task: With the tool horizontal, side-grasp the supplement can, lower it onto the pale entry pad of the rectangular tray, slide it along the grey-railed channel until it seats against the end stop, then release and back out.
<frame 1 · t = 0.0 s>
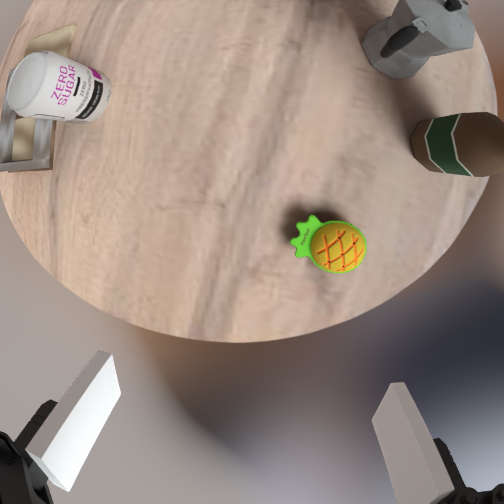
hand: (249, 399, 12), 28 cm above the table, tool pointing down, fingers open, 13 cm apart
supplement can: (92, 98, 33), on the table
beer bottle: (429, 145, 33), on the table
coffeepot: (385, 55, 30), on the table
rectangular tray: (37, 98, 33), on the table
pineapple toy: (325, 239, 38), on the table
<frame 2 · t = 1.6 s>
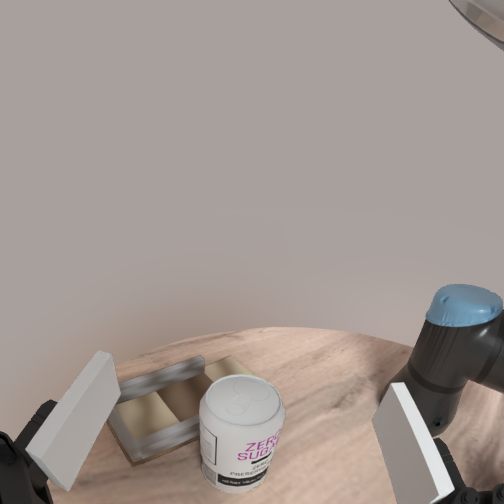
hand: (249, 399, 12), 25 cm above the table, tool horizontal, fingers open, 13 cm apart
supplement can: (234, 470, 28), on the table
rectangular tray: (189, 406, 39), on the table
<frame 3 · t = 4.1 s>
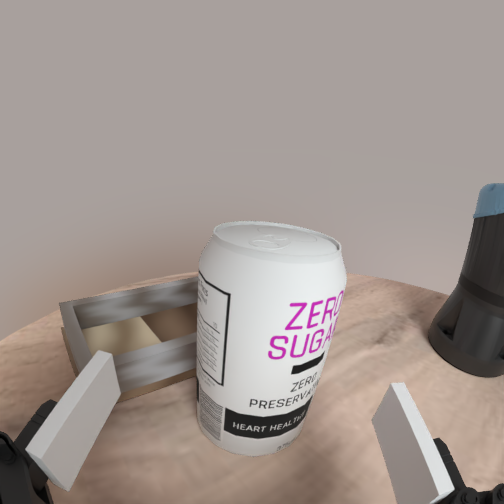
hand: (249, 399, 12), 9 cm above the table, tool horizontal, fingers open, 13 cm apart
supplement can: (249, 422, 20), on the table
rectangular tray: (184, 337, 30), on the table
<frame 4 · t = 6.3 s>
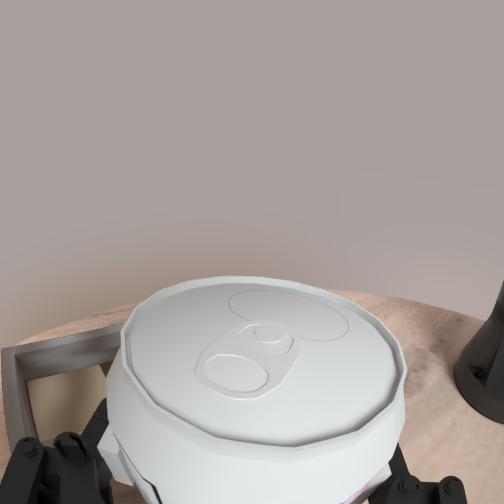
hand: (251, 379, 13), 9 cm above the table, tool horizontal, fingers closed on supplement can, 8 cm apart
rectangular tray: (153, 394, 21), on the table
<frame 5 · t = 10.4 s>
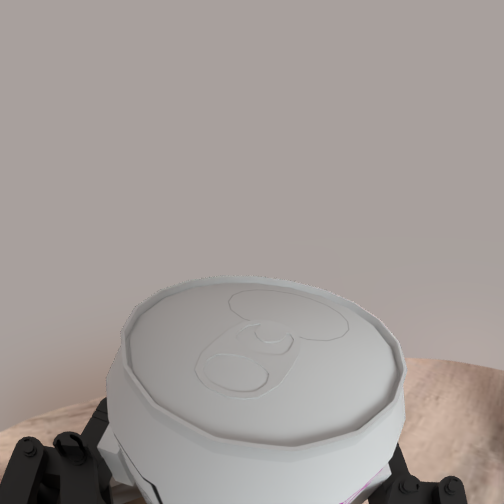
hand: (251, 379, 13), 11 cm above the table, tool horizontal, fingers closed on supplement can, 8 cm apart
when the fingers open (11 cm above the table, at t = 14.5 s): supplement can stays where it is, resting on rectangular tray.
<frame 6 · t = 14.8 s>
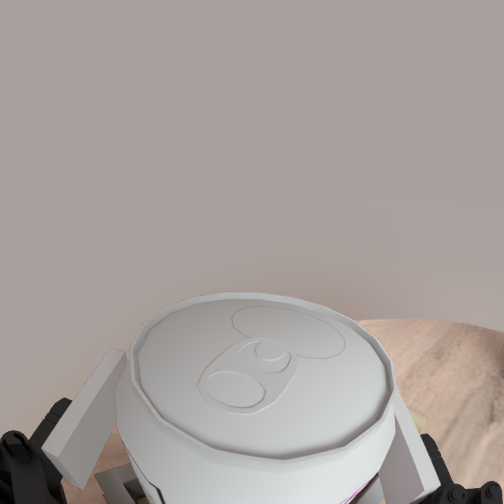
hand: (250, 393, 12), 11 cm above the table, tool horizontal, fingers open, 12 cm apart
rectangular tray: (300, 478, 16), on the table
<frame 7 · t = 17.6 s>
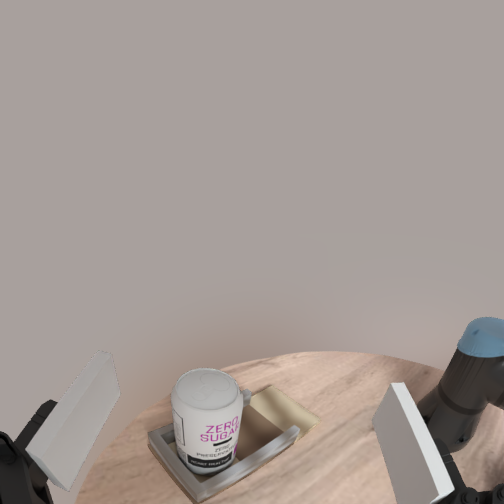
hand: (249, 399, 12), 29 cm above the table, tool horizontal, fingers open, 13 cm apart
supplement can: (206, 456, 33), point 1 cm above the table, touching rectangular tray
rectangular tray: (240, 440, 38), on the table
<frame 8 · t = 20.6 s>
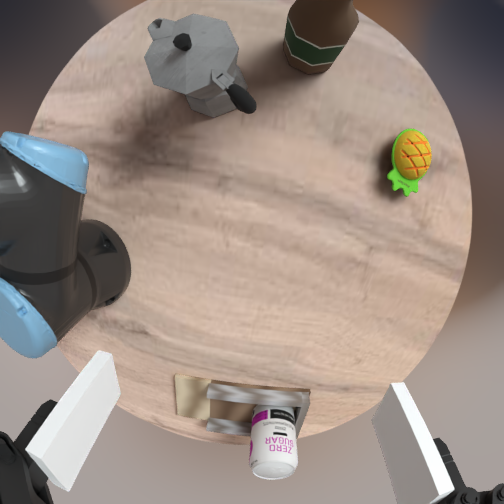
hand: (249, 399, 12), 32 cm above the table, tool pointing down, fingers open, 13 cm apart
supplement can: (273, 410, 51), point 1 cm above the table, touching rectangular tray
beer bottle: (308, 53, 34), on the table
coffeepot: (220, 93, 36), on the table
rectangular tray: (240, 404, 52), on the table
pineapple toy: (401, 161, 38), on the table
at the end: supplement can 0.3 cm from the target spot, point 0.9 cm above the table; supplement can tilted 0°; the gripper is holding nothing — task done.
